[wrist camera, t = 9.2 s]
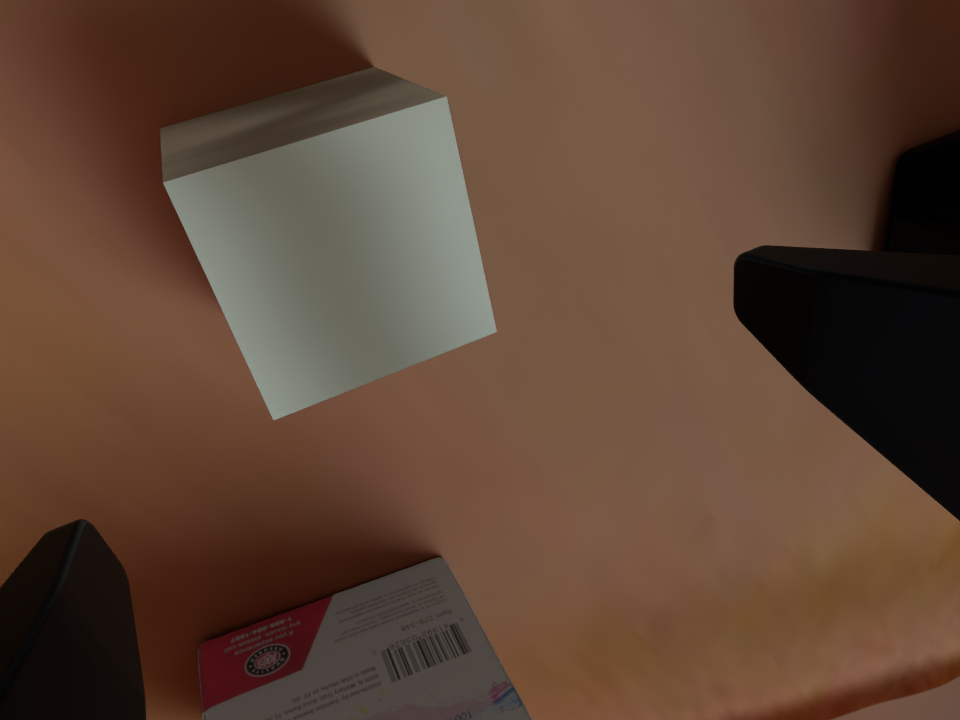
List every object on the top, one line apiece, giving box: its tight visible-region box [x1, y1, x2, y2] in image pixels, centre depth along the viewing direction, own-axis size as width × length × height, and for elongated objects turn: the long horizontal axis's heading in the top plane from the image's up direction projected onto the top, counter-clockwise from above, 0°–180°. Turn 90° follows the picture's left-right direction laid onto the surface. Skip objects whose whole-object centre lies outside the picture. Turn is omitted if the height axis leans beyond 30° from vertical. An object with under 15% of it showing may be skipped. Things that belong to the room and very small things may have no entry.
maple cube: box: [160, 67, 497, 420], centre depth 15 cm, size 5×5×5 cm
